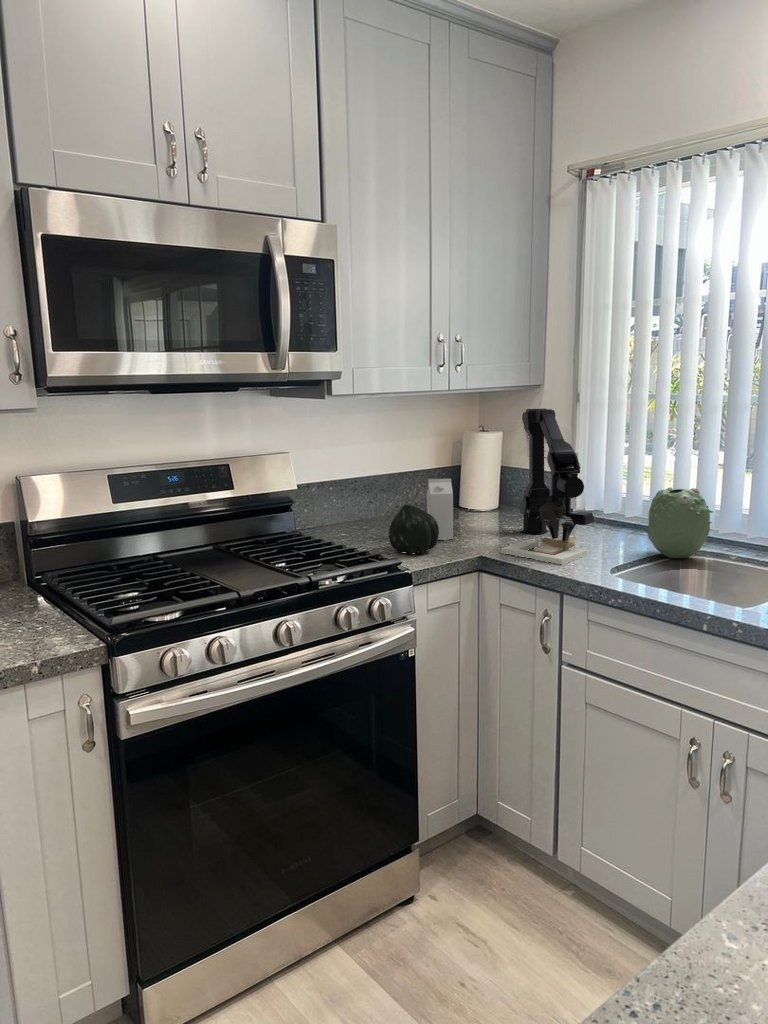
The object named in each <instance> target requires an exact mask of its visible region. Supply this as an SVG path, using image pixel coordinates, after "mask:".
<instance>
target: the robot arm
mask: <svg viewBox="0 0 768 1024" xmlns="http://www.w3.org/2000/svg"><path fill="white" fill-rule="evenodd" d="M521 421H522V424H523V429H524V431H525V433H526V434H527V436H528V440H529V441H528V449H529V450H528V451H529V453H528V455H529V456H528V458H529V459H528V460H529V461H528V462H529V463H528V464H529V465H528V466H529V467H528V468H529V469H528V470H529V472H528V474H529V475H528V477H529V478H528V479H529V480H528V482H529V483H528V484H527V486H526V488H525V489H524V490H523V491H524V493H523V497H522V499H521V502H520V504H519V513H520V514H521V515H523V527H522V528H523V529H522V530H520V533H523V534H530V535H535V536H537V535H538V536H539V535H541V534H545V533H548V531H549V532H550V533H549V534H550V535H551V539H556V538H559V532H560V531H559V529H560V525H561V526H562V536H563V537H562V536H561V537H562V541H566V542H567V540H568V538H569V536H570V535H571V533H572V532H573V530H574V528H575V527H576V525H578V526H579V525H580V526H587V525H589V524H590V525H591V524H592V523H594V522H595V519H594V518H595V517H594V514H593V512H588V511H583V510H582V511H578V512H575V513H573V512H574V508H573V507H572V499H574V498H577V497H580V496H581V495H582V494H583V493H584V490H585V485H584V481H583V480H582V479H581V478H580V477H578V476H579V474H581V464H580V462H579V458H578V456H577V453H576V452H575V450H574V448H573V446H572V445H571V444H570V443H569V442H567V441H565V439H564V437H563V434H562V431H561V429H560V426H559V424H558V421H557V419H556V411H555V410H554V409H552V408H551V409H549V408H546V407H545V408H544V407H543V408H527V409H526V410H525V411H524V412H523V413H522V414H521ZM545 442H546V444H547V446H548V447H547V448H548V449H549V450H548V453H547V457H546V458H547V459H546V461H547V465H548V467H549V470H550V475H551V479H550V482H551V483H550V485H551V486H550V488H551V489H550V488H548V487H547V484H546V483H545ZM561 519H562V520H564V521H563V522H561V524H560V520H561ZM547 528H548V529H547Z"/></svg>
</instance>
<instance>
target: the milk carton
mask: <svg viewBox="0 0 768 1024" xmlns="http://www.w3.org/2000/svg"><path fill="white" fill-rule="evenodd" d="M453 492H454V491H453V484H452V478H428V482H427V488H426V513H428V514H430V515H431V516H433V517H434V519H435V520H436V522H437V524H438V527H439V536H438V539H453V540H454V529H453V528H454V493H453Z"/></svg>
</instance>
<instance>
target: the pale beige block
mask: <svg viewBox="0 0 768 1024" xmlns="http://www.w3.org/2000/svg"><path fill="white" fill-rule="evenodd" d="M532 550H533V552H538V553H544V554H549V555H556V554H559V553H562V550H563V548H559V547H553V546H547V545H543V546H538V547H537V548H534V549H532Z"/></svg>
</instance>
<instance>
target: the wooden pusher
mask: <svg viewBox="0 0 768 1024" xmlns="http://www.w3.org/2000/svg"><path fill="white" fill-rule="evenodd" d="M562 537H563V535H562V536H558V538H556V539H552V538H548V537H543V538H541V544H540V545H541V546H543V545H547V546H553V547H559V548H563V550H562V552H565V551H568V550H570V548H571V547H574V546H575V540H576V535H571V534H570V536H569V538H568V540H567V542H566V541H562Z"/></svg>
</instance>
